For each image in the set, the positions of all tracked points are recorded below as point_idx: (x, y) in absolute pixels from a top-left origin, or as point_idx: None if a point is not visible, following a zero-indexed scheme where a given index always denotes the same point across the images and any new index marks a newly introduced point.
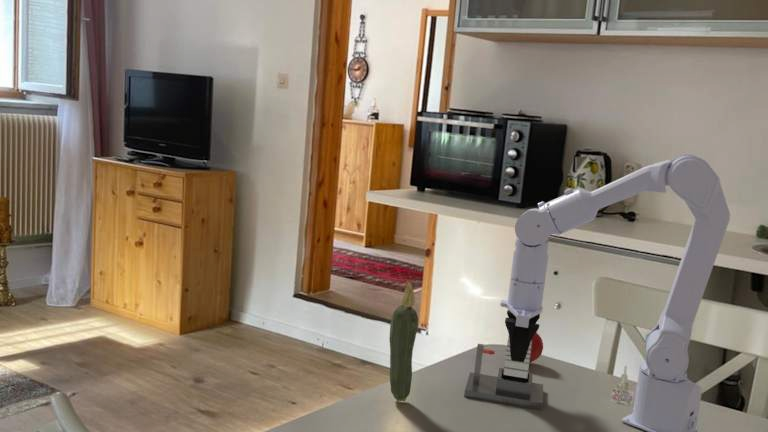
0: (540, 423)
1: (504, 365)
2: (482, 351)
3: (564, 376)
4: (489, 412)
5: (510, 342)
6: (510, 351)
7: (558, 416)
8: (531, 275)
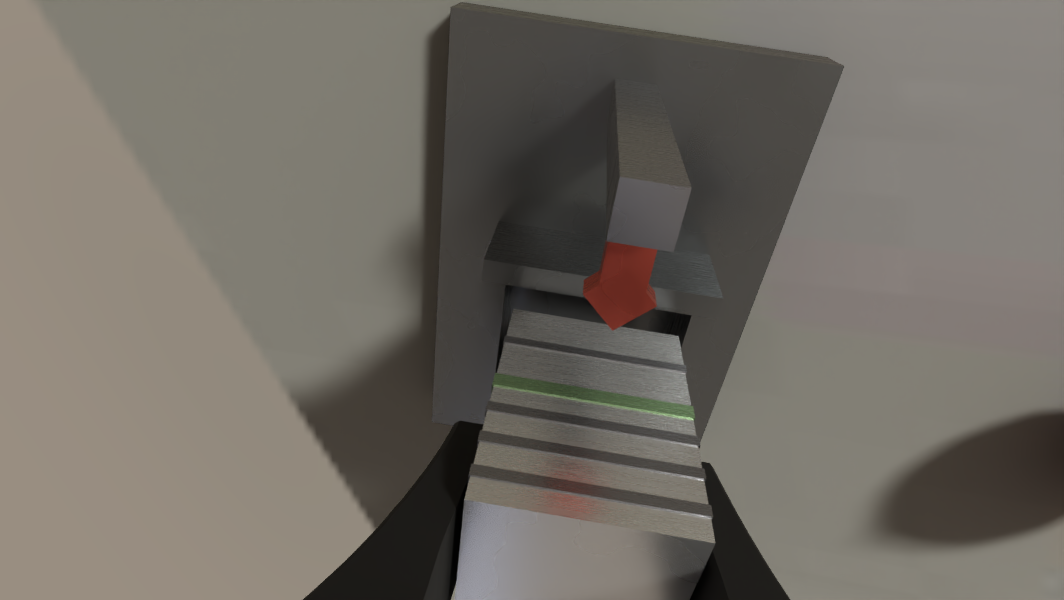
0: (289, 368)
1: (534, 347)
2: (607, 213)
3: (909, 557)
4: (290, 154)
5: (374, 532)
6: (432, 464)
7: (401, 443)
8: None
